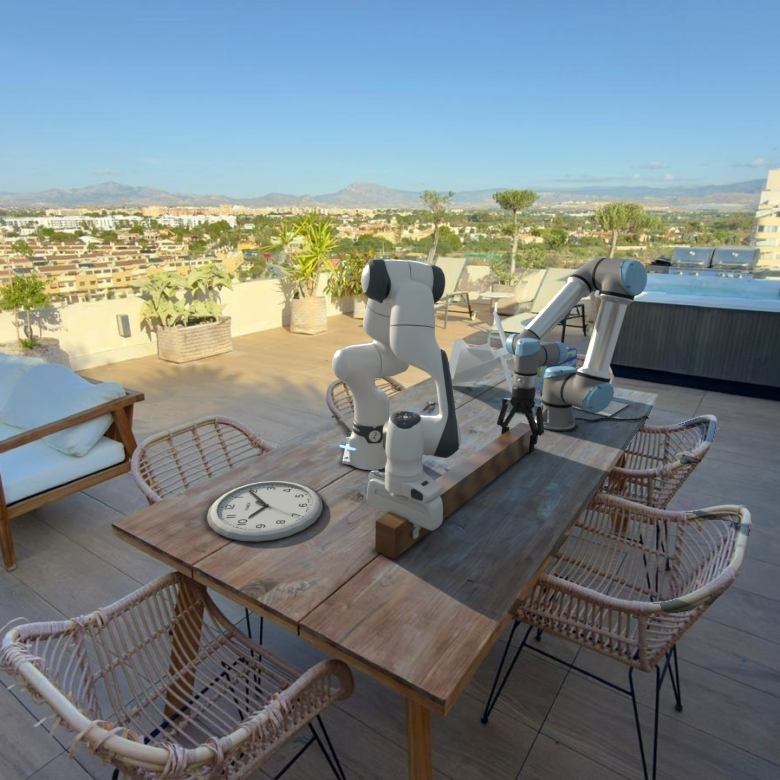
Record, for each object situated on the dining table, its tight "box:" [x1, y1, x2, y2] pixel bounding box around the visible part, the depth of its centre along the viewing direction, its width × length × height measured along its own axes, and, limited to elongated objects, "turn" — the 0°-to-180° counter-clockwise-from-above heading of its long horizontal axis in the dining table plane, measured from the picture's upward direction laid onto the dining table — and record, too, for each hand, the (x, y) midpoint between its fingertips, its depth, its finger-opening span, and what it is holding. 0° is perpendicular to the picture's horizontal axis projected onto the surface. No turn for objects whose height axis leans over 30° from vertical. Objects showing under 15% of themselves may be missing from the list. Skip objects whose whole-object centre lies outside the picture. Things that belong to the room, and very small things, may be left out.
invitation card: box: [573, 400, 629, 418], centre depth 226 cm, size 21×1×15 cm
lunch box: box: [535, 346, 578, 394], centre depth 244 cm, size 26×11×21 cm, turn 135°
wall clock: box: [206, 480, 324, 543], centre depth 140 cm, size 30×2×30 cm
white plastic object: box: [448, 310, 515, 395], centre depth 245 cm, size 37×45×31 cm
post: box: [374, 422, 532, 560], centre depth 152 cm, size 82×6×8 cm, turn 143°
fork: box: [422, 395, 437, 412], centre depth 223 cm, size 3×16×2 cm, turn 160°
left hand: (402, 532), depth 126 cm, fingers closed on post, 5 cm apart
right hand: (518, 448), depth 179 cm, fingers open, 9 cm apart
